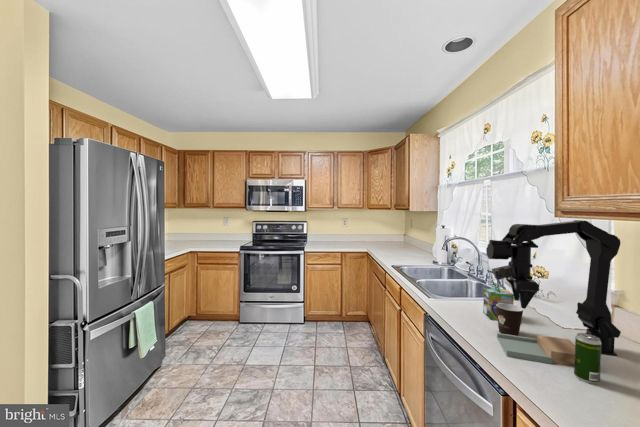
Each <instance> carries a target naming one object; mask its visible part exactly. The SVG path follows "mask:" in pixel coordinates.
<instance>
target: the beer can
mask: <svg viewBox="0 0 640 427" xmlns="http://www.w3.org/2000/svg"><path fill="white" fill-rule="evenodd" d="M574 339H575V343H574V345H575V362H574V366H573V374H574V377H575V378H577V379H578V380H579V381H581V382H583V383H586V384H591V385H597V384H599V383H600V381H601V362H602V353H601V342H600V338H598V337H596V336H593V335H590V334H586V332H577V333H576V336H575V338H574Z"/></svg>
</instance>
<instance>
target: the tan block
mask: <svg viewBox="0 0 640 427" xmlns="http://www.w3.org/2000/svg"><path fill="white" fill-rule="evenodd" d="M536 339H537V344H538V345H539V346H540V348H541V349H542V350H543V351H544V353H545V354H546V355H547V356H551V357H552V364H554V363H555V364H561V365H566V366H571V367H572V366H573V367H574V362H575V343H573V342H572V341H571V340H570V339H567V338H561V337H553V336H547V335H542V334H541V335H539V334H537V336H536Z"/></svg>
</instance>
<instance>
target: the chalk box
mask: <svg viewBox="0 0 640 427" xmlns="http://www.w3.org/2000/svg"><path fill="white" fill-rule="evenodd" d="M493 286H494V287H493V288H492V287H491V288H490V287H488V288H487V287H484V288H483V306H482V307H483V308H482V309H483V310H482V311H483V312H482V313H484V315H486V317H487V318H488V319H489V320H492V321H498V319H497V318H496V316H495V315H494V313H493V311H492V305H496V304H499V303H506V304H512V305H514V302H515V299H514V295H513V292H512V293H511V292H510V291H509V290H507V289H505V288H500V285H499V284H498V283H497V282H495V281H494V282H493ZM493 310H494V312H495V314H496V315H497V307H496V306H494V308H493Z"/></svg>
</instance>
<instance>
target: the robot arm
mask: <svg viewBox="0 0 640 427" xmlns="http://www.w3.org/2000/svg"><path fill="white" fill-rule="evenodd" d="M575 233H576V234H577V236H578V237H579V238H580V239H581V240H583V241H584V242H585V246H586V248H585V249H586V251H587V253H588V255H589V258H590V262H589V271H588V279H587V280H588V281H587V290H586V298H585V300H584V301H583V302H577V309H576V312H575V314H577V317H578V319H579V320H580V322H582V326H583V327H585V328H586V332H585V333H586V334H590V335H593V336H596V337H598V338H600V342H601V354H603V355H604V354H606V355H610V356H611V355H612V356H618V354H617V352H615V338H617V339H618V338H619V337H620V336H621V334H622V331H621V330H620V329H619V328H617V327H616V326H615V325H614V324H613V323H612V314H611V310H610V308H609V306H608V304H607V299H608V298H607V297H608V290H609V281H610V272H611V263H612V260H613V259H614V258H615V257H616V256H617V255H618V253H619V250H620V247H621V243H622V242H621V239H620V238H619V237H618V236H617V235H614V234H613V233H609V232H607V231H605V230H604V229H601V228H599V227H598V226H596V225H594V224H593V223H591V222H589V221H587V220H582V219H581V220H579V219H575V220H572V221H570V220H569V221H563V222H562V221H561V222H554V223H553V222H552V223H545V224H528V223H527V224H526V223H525V224H524V223H515V224H512V225H511V226H510V228H509V229H508V232H507V234H505V236H504V237H503V238H502V239H501V240H497V239H489V243H488V244H487V247H486V256H487V258H488V259H489V260H509V262H508V264H507V265H504V266H500V267H495V268H492V269H491V271H492V273H493V274H492V275H493V276H494V278H495V279H496V281H498V280H499V281H500V280H502V279H505V281H506V282H508V283H509V285H510V287H511V292H512V294H513V295H514V301H519V302H520V307H521V308H523V310H525V309H526V308H527V307H528V305H529V303H530V302H531V300H532V299H533V298H534V296H535V295H536V294H537V293H538V292H540V285H539V284H538V283H537V282H536V281H535V280H533V276H532V275H531V268H533V264H532V263H531V262H532V258H531V257H532V249H533V248H535V249H537V248H539V245H538V244H536V243H535V242H534V240H538V239H540V238H543V237H546V236H547V237H549V236H555V235H556V236H557V235H567V234H575Z"/></svg>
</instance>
